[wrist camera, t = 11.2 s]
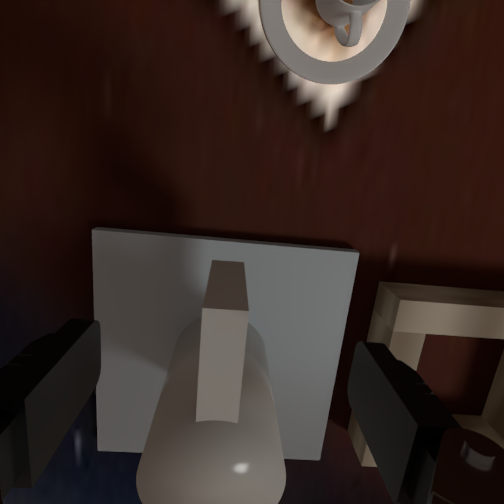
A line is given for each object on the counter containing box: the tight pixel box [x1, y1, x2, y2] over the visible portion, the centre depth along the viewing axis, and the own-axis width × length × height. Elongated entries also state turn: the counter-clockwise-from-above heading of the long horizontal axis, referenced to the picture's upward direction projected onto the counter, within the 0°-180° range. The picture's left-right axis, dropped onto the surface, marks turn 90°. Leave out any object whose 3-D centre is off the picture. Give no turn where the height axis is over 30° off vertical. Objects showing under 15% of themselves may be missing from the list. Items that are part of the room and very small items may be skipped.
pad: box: [92, 227, 359, 460], centre depth 23 cm, size 16×16×1 cm
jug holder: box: [347, 281, 504, 467], centre depth 23 cm, size 12×12×3 cm
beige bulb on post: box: [136, 260, 286, 504], centre depth 18 cm, size 12×6×9 cm, turn 175°
